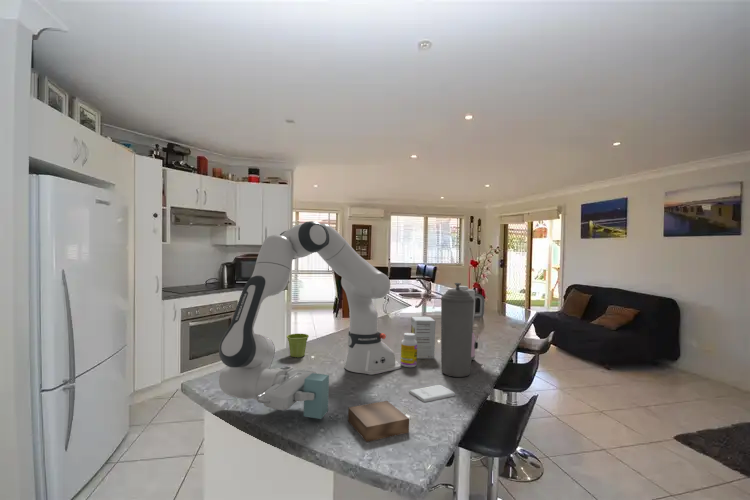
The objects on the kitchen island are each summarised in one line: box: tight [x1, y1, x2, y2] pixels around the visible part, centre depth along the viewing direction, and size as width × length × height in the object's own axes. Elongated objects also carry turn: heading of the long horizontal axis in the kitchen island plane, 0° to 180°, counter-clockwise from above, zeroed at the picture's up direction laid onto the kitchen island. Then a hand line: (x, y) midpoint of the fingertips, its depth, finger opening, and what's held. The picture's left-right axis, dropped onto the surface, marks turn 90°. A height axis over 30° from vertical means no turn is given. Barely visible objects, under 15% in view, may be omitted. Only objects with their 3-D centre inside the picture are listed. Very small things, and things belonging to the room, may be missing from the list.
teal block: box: [303, 372, 330, 420], centre depth 99 cm, size 5×5×10 cm
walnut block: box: [347, 400, 410, 443], centre depth 96 cm, size 12×12×4 cm
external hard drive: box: [409, 384, 456, 403], centre depth 119 cm, size 2×8×12 cm
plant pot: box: [286, 333, 309, 358], centre depth 158 cm, size 9×9×9 cm
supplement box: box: [410, 316, 436, 359], centre depth 164 cm, size 10×9×17 cm
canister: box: [440, 282, 474, 378], centre depth 141 cm, size 13×13×35 cm
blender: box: [447, 285, 485, 361], centre depth 159 cm, size 16×12×32 cm
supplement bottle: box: [400, 332, 418, 368], centre depth 149 cm, size 7×7×13 cm
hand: (319, 391), depth 99 cm, fingers closed on teal block, 5 cm apart
